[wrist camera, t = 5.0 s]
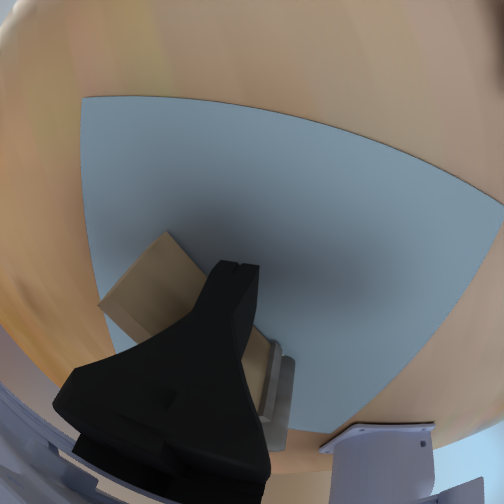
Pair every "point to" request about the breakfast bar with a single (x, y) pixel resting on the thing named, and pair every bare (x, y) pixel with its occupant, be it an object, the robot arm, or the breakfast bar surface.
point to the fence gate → (183, 312)
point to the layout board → (289, 232)
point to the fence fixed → (281, 407)
